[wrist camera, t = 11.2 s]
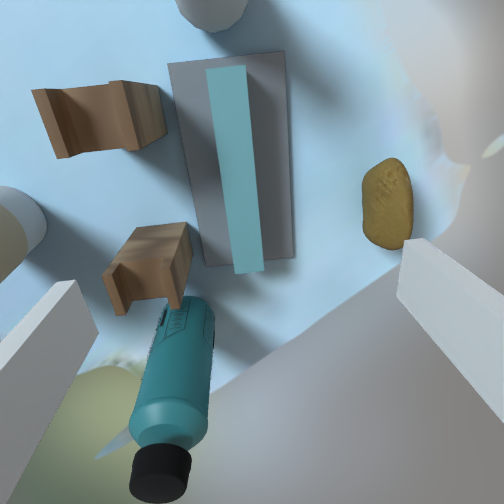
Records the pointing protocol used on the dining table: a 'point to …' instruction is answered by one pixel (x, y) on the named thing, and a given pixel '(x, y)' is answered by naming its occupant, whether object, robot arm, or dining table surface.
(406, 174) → the potato
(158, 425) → the beverage bottle
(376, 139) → the dining table surface
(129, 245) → the post
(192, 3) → the salt shaker
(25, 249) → the coffee cup
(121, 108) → the post
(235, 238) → the rail
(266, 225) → the mat
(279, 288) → the dining table surface
